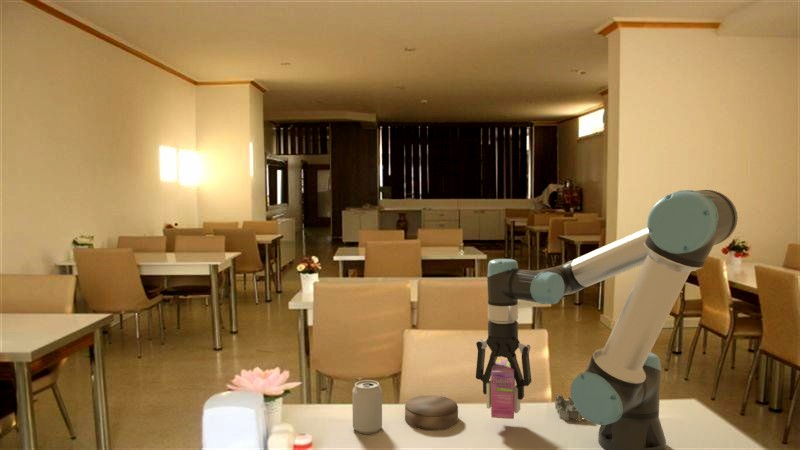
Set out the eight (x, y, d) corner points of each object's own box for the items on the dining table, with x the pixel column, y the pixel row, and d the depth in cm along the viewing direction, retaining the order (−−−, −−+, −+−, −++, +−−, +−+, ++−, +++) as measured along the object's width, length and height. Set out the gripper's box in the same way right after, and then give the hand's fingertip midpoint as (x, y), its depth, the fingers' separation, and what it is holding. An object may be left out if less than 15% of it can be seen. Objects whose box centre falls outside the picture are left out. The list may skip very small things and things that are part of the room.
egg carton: (553, 406, 170) (554, 391, 170) (581, 407, 169) (581, 393, 169) (557, 421, 160) (558, 405, 160) (587, 422, 159) (587, 407, 158)
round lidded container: (465, 414, 163) (465, 400, 163) (445, 434, 151) (445, 419, 151) (419, 405, 170) (419, 392, 170) (395, 424, 158) (395, 409, 157)
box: (514, 419, 149) (513, 372, 148) (491, 418, 150) (490, 371, 150) (515, 404, 159) (515, 360, 159) (493, 403, 161) (493, 359, 160)
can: (385, 424, 157) (385, 379, 156) (376, 436, 150) (376, 389, 149) (358, 421, 159) (358, 377, 158) (348, 433, 152) (348, 386, 151)
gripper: (545, 320, 152) (545, 409, 154) (471, 314, 161) (472, 398, 163) (537, 326, 145) (537, 420, 147) (461, 319, 155) (462, 407, 156)
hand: (503, 408), depth 155 cm, fingers closed on box, 7 cm apart
